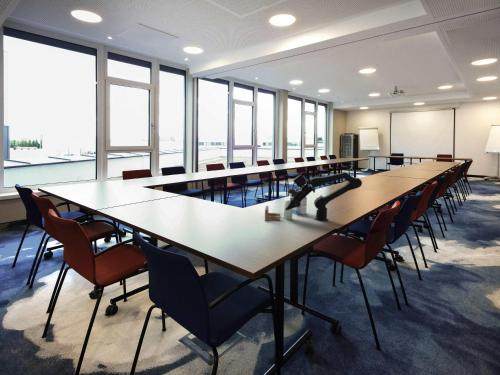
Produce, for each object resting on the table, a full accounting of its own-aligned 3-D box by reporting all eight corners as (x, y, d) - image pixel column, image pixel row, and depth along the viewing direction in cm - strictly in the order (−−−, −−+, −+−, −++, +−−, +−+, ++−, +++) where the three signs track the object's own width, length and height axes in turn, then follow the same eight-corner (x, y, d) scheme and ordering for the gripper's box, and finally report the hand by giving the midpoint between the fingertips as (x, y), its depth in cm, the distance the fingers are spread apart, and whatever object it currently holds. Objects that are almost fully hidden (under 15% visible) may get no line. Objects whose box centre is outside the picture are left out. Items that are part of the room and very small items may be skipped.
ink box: (296, 214, 212) (296, 195, 210) (290, 212, 219) (290, 193, 217) (306, 213, 215) (307, 194, 213) (300, 211, 223) (300, 192, 221)
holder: (280, 216, 207) (280, 206, 206) (280, 221, 194) (280, 210, 193) (266, 215, 208) (266, 205, 207) (264, 220, 195) (265, 209, 194)
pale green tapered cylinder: (293, 219, 199) (294, 200, 197) (287, 220, 196) (287, 201, 195) (288, 217, 203) (289, 199, 202) (282, 218, 201) (282, 200, 199)
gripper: (294, 181, 205) (277, 197, 208) (295, 185, 187) (277, 202, 190) (306, 193, 206) (289, 209, 208) (308, 198, 187) (289, 215, 190)
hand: (286, 208), depth 199 cm, fingers closed on pale green tapered cylinder, 5 cm apart
